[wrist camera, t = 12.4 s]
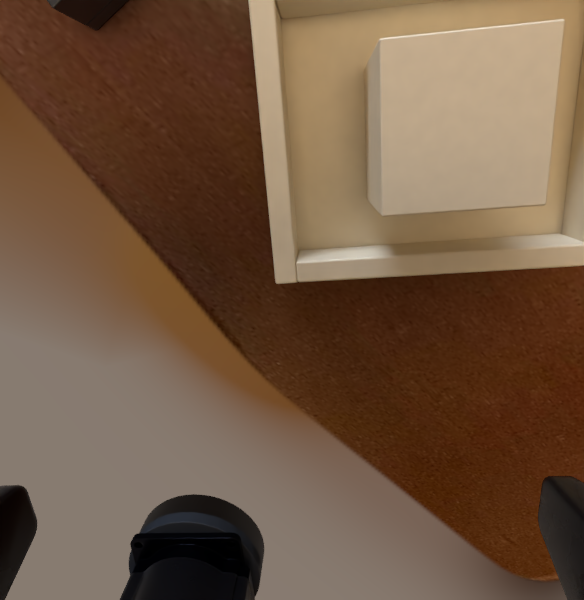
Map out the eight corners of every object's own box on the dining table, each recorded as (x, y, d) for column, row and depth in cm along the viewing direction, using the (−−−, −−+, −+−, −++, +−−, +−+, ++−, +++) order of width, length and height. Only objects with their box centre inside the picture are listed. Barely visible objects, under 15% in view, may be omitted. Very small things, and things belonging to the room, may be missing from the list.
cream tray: (282, 265, 19) (275, 284, 16) (258, 3, 16) (245, -27, 13) (569, 247, 18) (613, 265, 15) (604, -37, 15) (666, -79, 12)
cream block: (366, 200, 17) (381, 217, 12) (363, 69, 15) (379, 38, 11) (488, 191, 16) (546, 205, 12) (497, 55, 15) (566, 18, 11)
